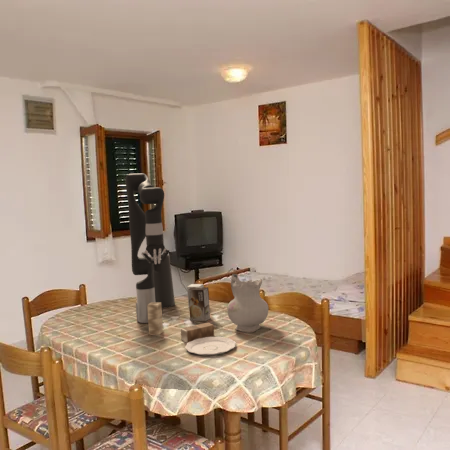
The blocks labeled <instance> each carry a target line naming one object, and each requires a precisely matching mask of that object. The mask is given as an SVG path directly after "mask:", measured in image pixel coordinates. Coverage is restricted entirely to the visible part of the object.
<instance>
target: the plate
mask: <svg viewBox="0 0 450 450" xmlns="http://www.w3.org/2000/svg"><path fill="white" fill-rule="evenodd" d="M236 344H237V342H236V341H235V340H233V339H232V338H229V337H223V336H211V337H205V338H199V339H195V340H193V341H191V342H187V343H186V345H185V346H184V349H185V350H187V351H188V352H189V353H192V354H196V355H201V356H215V355H221V354H225V353H226V352H230V351H231V350H234V348H236Z"/></svg>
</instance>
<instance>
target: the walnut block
mask: <svg viewBox="0 0 450 450" xmlns="http://www.w3.org/2000/svg"><path fill="white" fill-rule="evenodd" d="M205 337H215V325H214V324H212V323H210V322H205V323H200V324H196V325H195V324H194V325H191V326H187V327H182V328H180V338H181V339H180V340H181V341H183V342H185V343H186V344H187V343H188V342H191V341H193V340H195V339H199V338H205Z"/></svg>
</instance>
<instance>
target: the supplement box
mask: <svg viewBox="0 0 450 450" xmlns="http://www.w3.org/2000/svg"><path fill="white" fill-rule="evenodd" d="M192 287H205V286H204V284H203V283H191V284H189V285H188V286H186V288H187V293H188V289H190V288H192ZM187 305H188V306H187V307H189V297H188V296H187Z"/></svg>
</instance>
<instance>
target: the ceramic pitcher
mask: <svg viewBox="0 0 450 450" xmlns="http://www.w3.org/2000/svg"><path fill="white" fill-rule="evenodd" d="M262 283H263V279H261V278H260V279H259V280H257V279H256V280H255V281H254V280H252V279H249V280H246V281H245V280H240V278H239V276H238V274H236V273H232V275H231V278H230V287H231V292H232V295H233V297H234V298H233V299H231V300H230V302H229V303H228V305H227V307H226V308H227V317H228V319H229V320H230V321H231V323H232V324H234V325H236V327H235V330H237V331H240V332H242V333H254V332H256V331H258V330H259V329H261V328H262V327H261V324H263V323H264V322H265V321H266V320H267V318H268V314H269V304H268V303H267V301H265V299H263V298H262V297H261V295H260V289H261V286H262V285H263V284H262Z"/></svg>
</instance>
